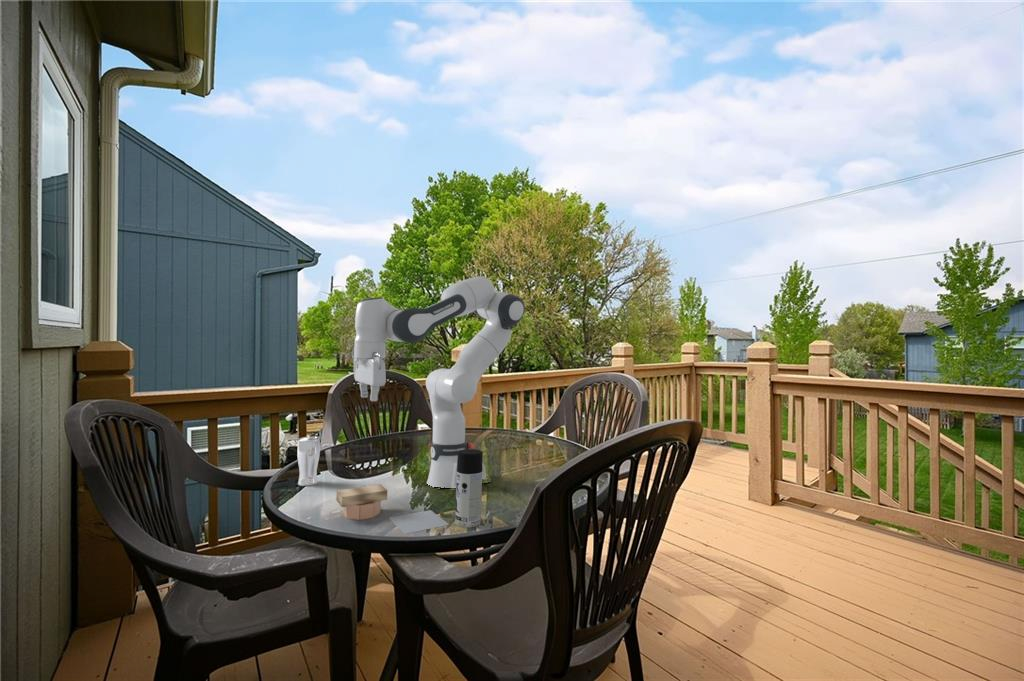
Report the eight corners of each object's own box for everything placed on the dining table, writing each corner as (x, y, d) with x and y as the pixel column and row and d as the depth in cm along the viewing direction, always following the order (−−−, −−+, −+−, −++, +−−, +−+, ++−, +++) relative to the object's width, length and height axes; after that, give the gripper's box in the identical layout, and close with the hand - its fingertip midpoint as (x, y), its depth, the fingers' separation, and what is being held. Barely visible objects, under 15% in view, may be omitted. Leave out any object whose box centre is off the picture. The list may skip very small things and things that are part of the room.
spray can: (455, 523, 126) (457, 448, 126) (480, 522, 127) (482, 448, 127) (454, 533, 120) (456, 454, 120) (481, 533, 120) (483, 454, 120)
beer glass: (323, 480, 161) (324, 437, 161) (312, 487, 154) (313, 441, 154) (303, 479, 162) (304, 436, 162) (292, 486, 155) (293, 440, 155)
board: (380, 493, 134) (380, 484, 134) (387, 499, 129) (387, 490, 129) (336, 500, 127) (336, 490, 127) (341, 507, 122) (342, 497, 122)
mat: (430, 515, 131) (430, 510, 131) (449, 530, 121) (449, 524, 121) (388, 523, 125) (388, 517, 125) (404, 540, 115) (404, 533, 115)
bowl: (373, 510, 134) (374, 492, 134) (383, 520, 127) (383, 502, 127) (340, 516, 129) (341, 497, 129) (349, 527, 122) (349, 507, 122)
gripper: (392, 353, 132) (390, 402, 132) (370, 351, 149) (369, 395, 149) (369, 353, 128) (368, 403, 128) (350, 351, 145) (349, 395, 145)
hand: (368, 399), depth 139 cm, fingers open, 8 cm apart
